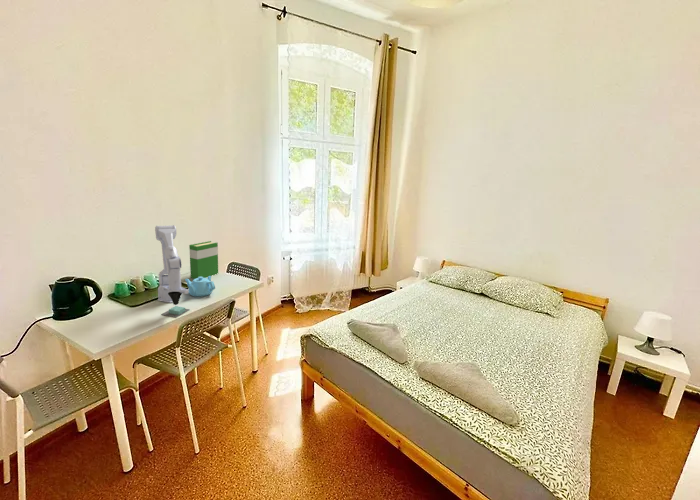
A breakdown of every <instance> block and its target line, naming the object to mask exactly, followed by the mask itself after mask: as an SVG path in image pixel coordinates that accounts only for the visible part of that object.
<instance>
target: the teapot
mask: <svg viewBox="0 0 700 500" xmlns="http://www.w3.org/2000/svg"><path fill="white" fill-rule="evenodd" d="M184 280H185V283H186V285H187V288H188V290H189V293H188V294H189V295H191V296H192V297H196V298H199V297H200V298H201V297H207V296H209V295H210V294H212V292H213V291H214V290H215V289H216V285H215V282H214V280H212V276H208V277H206V278H203V277H198V278H196V279H192V281H191V280H190V279H189V278H185V279H184ZM211 280H212V281H211Z"/></svg>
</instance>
